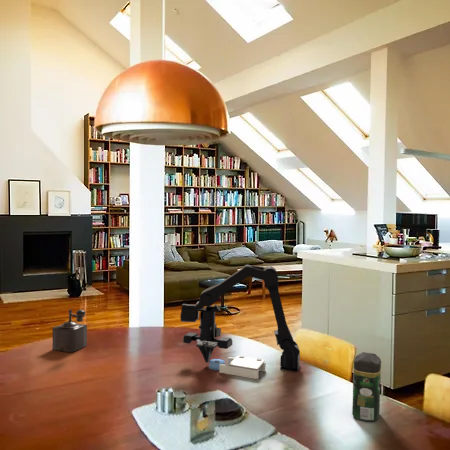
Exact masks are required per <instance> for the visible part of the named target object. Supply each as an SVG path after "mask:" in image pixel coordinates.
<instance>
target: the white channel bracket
mask: <svg viewBox="0 0 450 450" xmlns="http://www.w3.org/2000/svg"><path fill="white" fill-rule="evenodd" d="M235 358H236V357H230V356H229V357H228V358H227V364H225V365H224V364H220V366H219V370H218V371H219V374H226V375H231V376H232V375H233V376H238V377H245V378H248V379H249V378H250V379H253V380H254V379H255V380H259V372H260V371H261V372H265V371H266V367H267V366H266V362H264V363H263V364H262V365H261V366H260V368H259V369H252V368H246V367H240V366H234V365H229V363H231V362H232V361H233V360H234V359H235Z"/></svg>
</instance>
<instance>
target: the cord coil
mask: <svg viewBox="0 0 450 450" xmlns="http://www.w3.org/2000/svg"><path fill="white" fill-rule="evenodd" d="M220 364H224V365H226V362H225V360H223V359H220V358H211V359H210V360H209V362H208V369H210V370H212V371H219V366H220Z"/></svg>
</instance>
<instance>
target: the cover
mask: <svg viewBox="0 0 450 450" xmlns="http://www.w3.org/2000/svg"><path fill="white" fill-rule="evenodd" d="M234 358H235V359H234V360H233V361H232V362H231V363H229V365H234V366H240V367H246V368H252V369H259V368H260V366H261V365H262V364H263V363H266V361H265V359H262V358H254V357H247V356H244V355H237V356H235V357H234Z"/></svg>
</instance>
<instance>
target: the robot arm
mask: <svg viewBox="0 0 450 450" xmlns="http://www.w3.org/2000/svg"><path fill="white" fill-rule="evenodd" d="M278 274H279V273H278V271H277V269H276V268H275V267H273V266H271V265H268V266H265V267H264V266H259V265H258V266H257V265H252V264H251V265H250V264H245V265H244V266H242V268H240V269H238V270H236V272H234V273H233V274H232V275H230V276H228V277H227V278H226V279H224V280H223V281H221V282H219V283H218V284H214V285H212V286H210V287H208V288H206V289H204V290H202V292H201V294H200V296H199V300H198V301H197V302H196V303H195V304H187V303H182V304H181V309H180V310H181V311H180V315H179V317H180V322H181V323H196V322H197V321H198V320H199V321H200V323H199V324H200V325H198V329H199V334H198V333H196V332H190V331H189V332H188V333H185V334H184V335H183V337H182V342H183V343H184V344H189V345H190V344H191V343H192V342H193V341H194V342H196V345H195V346H196V347H197V348H198V349H199V351H200V353H201V355H202V357H203V359H204V361H205V363H208V364H209V361H210V360H211V357H212V354H213V351H214V349H215V348H216V347H218V348H219V349H224V350H227V349H229V348H230V347H232V346H233V338H231V337H227V336H221V333H222V328H220V327H218V325H217V323H216V313H219V312H220V311H221V308H220V307H219V306H218V304H215V303H216V302H217V301H218V300H219V299H220V298H221V297H222V296H223V294H225V293H226V292H227V291H230V289H232V288H234V287H235V286H237V285H238V284H239V283H241V282H243V281H244V280H245V279H247V278H249V277H250V278H254V279H258V280H260V281H261V280H262V281H264V285H265V286H266V289H267V291H268V292H269V296H270V301H271V304H272V305H271V306H272V309H273V312H274V316H275V321H276V325H277V328H276V330H274V336H275V339H276V340H275V341H276V344H277V345H276V346H279V349H281V350H282V352H281V355H280V364H279V365H280V367H279V368H280V370H282V371H288V372H293V373H294V372H295V373H297V372H298V371H299V370H300V369H301V368H302V366H301V365H300V364H301V363H300V362H301V361H300V357H301V353H300V348H299V345H298V343H297V342H296V341H295V340H294V337H293V335H292V333H291V330H290V328H289V326H288V324H287V321H286V315H285V313H284V308H283V304H282V301H281V300H282V299H281V295H280V292H279V291H280V289H279V275H278ZM213 304H214V305H213ZM212 305H213V306H212ZM218 337H220V338H218Z"/></svg>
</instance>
